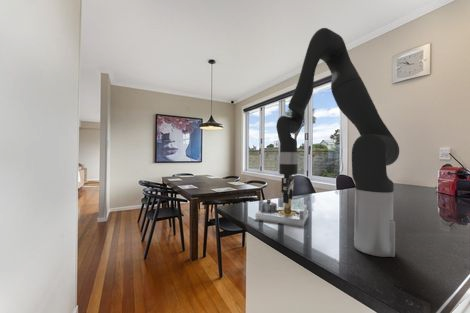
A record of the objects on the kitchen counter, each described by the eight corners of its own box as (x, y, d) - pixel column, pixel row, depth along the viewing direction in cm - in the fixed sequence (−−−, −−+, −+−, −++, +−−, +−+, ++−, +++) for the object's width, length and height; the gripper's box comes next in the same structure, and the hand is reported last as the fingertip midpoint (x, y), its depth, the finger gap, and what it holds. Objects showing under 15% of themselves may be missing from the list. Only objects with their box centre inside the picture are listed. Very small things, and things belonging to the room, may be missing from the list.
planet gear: (298, 217, 91) (298, 198, 91) (295, 222, 84) (295, 201, 84) (280, 215, 94) (280, 196, 94) (276, 219, 87) (276, 199, 87)
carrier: (308, 216, 93) (308, 199, 93) (303, 226, 78) (303, 207, 78) (266, 210, 101) (266, 195, 101) (254, 219, 87) (255, 201, 87)
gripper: (294, 163, 81) (294, 205, 81) (299, 163, 94) (299, 199, 94) (275, 163, 84) (274, 203, 84) (283, 162, 97) (282, 197, 97)
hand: (287, 201), depth 89 cm, fingers open, 8 cm apart
